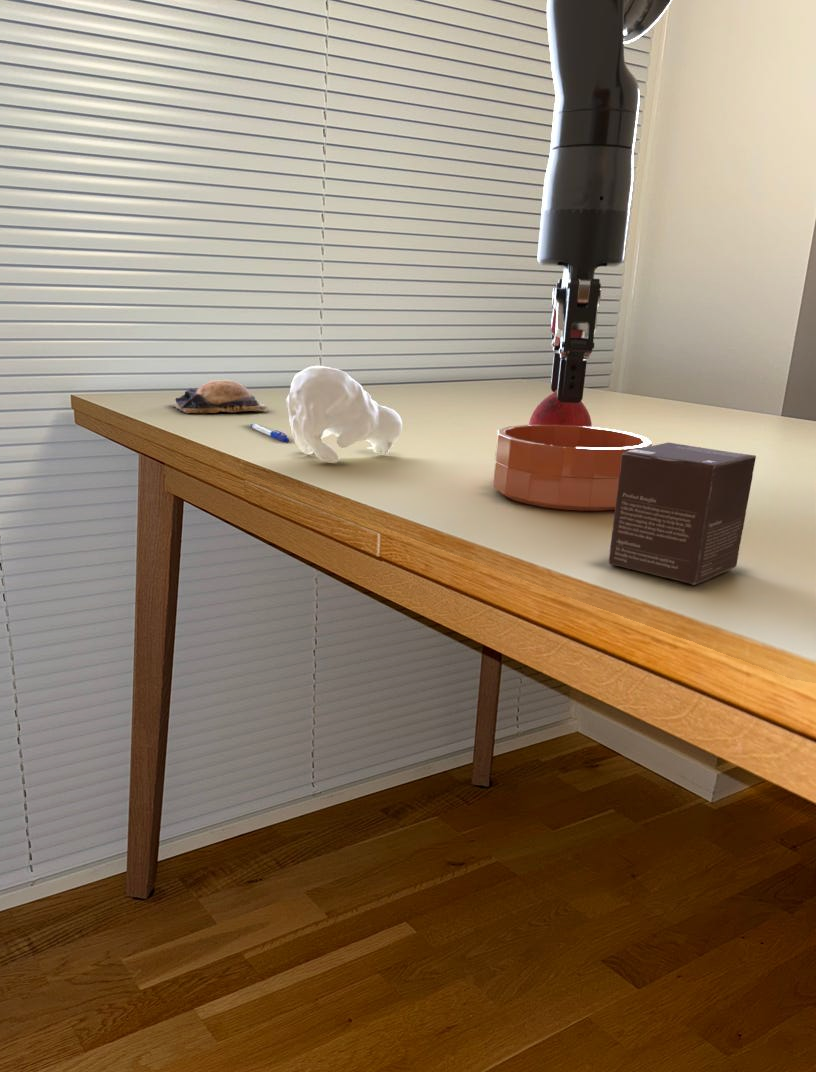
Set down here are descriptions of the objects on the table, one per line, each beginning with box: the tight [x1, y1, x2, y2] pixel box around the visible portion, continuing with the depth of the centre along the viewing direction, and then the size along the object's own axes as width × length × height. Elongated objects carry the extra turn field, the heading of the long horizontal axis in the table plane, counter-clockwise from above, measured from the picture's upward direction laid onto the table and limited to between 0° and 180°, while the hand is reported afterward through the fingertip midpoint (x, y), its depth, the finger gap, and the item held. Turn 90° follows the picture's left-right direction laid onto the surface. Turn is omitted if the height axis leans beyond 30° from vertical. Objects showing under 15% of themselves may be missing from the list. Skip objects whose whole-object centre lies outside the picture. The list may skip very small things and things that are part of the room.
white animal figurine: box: [285, 365, 404, 464], centre depth 93 cm, size 6×8×12 cm
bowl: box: [492, 424, 653, 512], centre depth 80 cm, size 12×12×5 cm
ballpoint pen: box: [250, 423, 290, 443], centre depth 105 cm, size 10×1×1 cm, turn 27°
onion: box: [528, 389, 593, 427], centre depth 91 cm, size 6×6×8 cm
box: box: [608, 442, 757, 586], centre depth 60 cm, size 6×6×7 cm
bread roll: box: [173, 379, 268, 415], centre depth 122 cm, size 11×8×4 cm
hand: (565, 397), depth 90 cm, fingers open, 8 cm apart
